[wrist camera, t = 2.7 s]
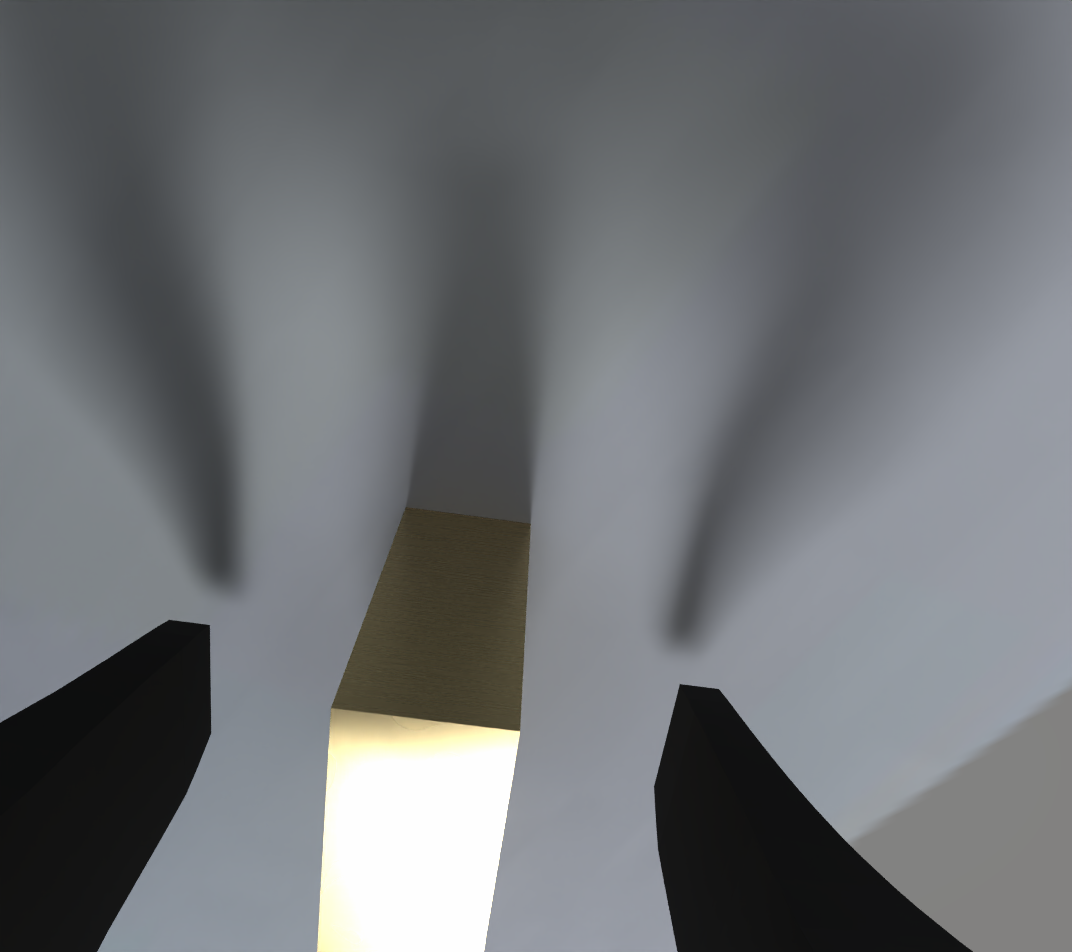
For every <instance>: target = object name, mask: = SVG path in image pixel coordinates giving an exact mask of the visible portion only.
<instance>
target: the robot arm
mask: <svg viewBox="0 0 1072 952" xmlns="http://www.w3.org/2000/svg"><path fill="white" fill-rule="evenodd" d="M210 735H211V685H210V625H205V624H197V623H189V622H181V621H173V620H168V621H167V622H165V623H163V624H162V625H160V626H158V627H157V628H155V629H153V630H152V631H150V632H149V633H147V634H145V635H144V636H142V637H141V638H139V639H138V640H136V641H134V642H133V643H131V644H130V645H128V646H127V647H125V648H124V649H122V650H121V651H119V652H117V653H116V654H114V655H113V656H111V657H110V658H108V659H107V660H105V661H103V662H102V663H100V664H99V665H97V666H95V667H94V668H92V669H91V670H89V671H87V672H86V673H84V674H83V675H81V676H79V677H78V678H76V679H75V680H73V681H71V682H70V683H68V684H67V685H65V686H63V687H62V688H60V689H59V690H57V691H55V692H54V693H52V694H50V695H48V696H46V697H45V698H43V699H41V700H39V701H38V702H36V703H34V704H32V705H31V706H29V707H27V708H25V709H24V710H22V711H20V712H18V713H17V714H15V715H13V716H11V717H9V718H8V719H6V720H4V721H2V722H1V723H0V952H97V951H98V949H99V947H100V945H101V943H102V942H103V940H104V938H105V936H106V934H107V932H108V930H109V928H110V927H111V925H112V923H113V921H114V920H115V918H116V916H117V914H118V913H119V911H120V909H121V908H122V906H123V904H124V902H125V901H126V899H127V897H128V895H129V894H130V892H131V890H132V888H133V887H134V885H135V883H136V881H137V880H138V878H139V876H140V874H141V873H142V871H143V869H144V868H145V866H146V864H147V862H148V861H149V859H150V857H151V855H152V854H153V852H154V850H155V848H156V847H157V845H158V843H159V841H160V840H161V838H162V836H163V834H164V833H165V831H166V829H167V827H168V826H169V824H170V822H171V820H172V819H173V817H174V815H175V813H176V811H177V810H178V808H179V806H180V804H181V802H182V801H183V799H184V797H185V795H186V793H187V791H188V788H189V786H190V784H191V781H192V779H193V777H194V774H195V772H196V770H197V767H198V765H199V762H200V760H201V757H202V755H203V752H204V750H205V747H206V745H207V742H208V740H209V737H210ZM654 793H655V811H656V827H657V840H658V851H659V857H660V862H661V868H662V873H663V878H664V884H665V889H666V894H667V900H668V905H669V910H670V915H671V920H672V926H673V931H674V936H675V941H676V946H677V951H678V952H973V951H971V950H970V949H969V948H967V947H966V946H965V945H963V944H962V943H961V942H959V941H958V940H957V939H956V938H954V937H953V936H952V935H951V934H949V933H948V932H947V931H946V930H945V929H943V928H942V927H941V926H940V925H938V924H937V923H936V922H935V921H933V920H932V919H931V918H930V917H929V916H927V915H926V914H925V913H924V912H922V911H921V910H920V909H919V908H917V907H916V906H915V905H914V904H913V903H912V902H910V901H909V900H908V899H907V898H906V897H905V896H903V895H902V894H901V893H900V892H899V891H898V890H897V889H896V888H894V887H893V886H892V885H891V884H890V883H889V882H888V881H887V880H886V879H885V878H883V876H882V875H880V874H879V873H878V872H877V871H876V870H875V869H874V868H873V867H872V866H871V865H870V864H869V863H868V862H867V861H866V860H864V859H863V858H862V857H861V856H860V855H859V854H858V853H857V852H856V851H855V850H854V849H853V848H852V847H851V846H850V845H849V844H848V843H847V842H846V841H845V840H844V839H843V838H842V837H841V836H840V835H839V834H838V833H837V831H836V830H835V829H834V828H833V827H832V826H831V825H830V824H829V823H828V822H827V821H826V820H825V819H824V817H823V816H822V815H821V814H820V813H819V812H818V811H817V810H816V809H815V808H814V807H813V806H812V804H811V803H810V802H809V801H808V800H807V799H806V798H805V796H804V795H803V794H802V793H801V792H800V791H799V790H798V788H797V787H796V786H795V785H794V784H793V782H792V781H791V780H790V779H789V778H788V777H787V775H786V774H785V773H784V772H783V770H782V769H781V768H780V767H779V766H778V764H777V763H776V762H775V761H774V759H773V758H772V757H771V756H770V754H769V753H768V752H767V751H766V749H765V748H764V747H763V746H762V744H761V743H760V742H759V740H758V739H757V738H756V737H755V735H754V734H753V733H752V731H751V730H750V729H749V727H748V726H747V725H746V724H745V722H744V721H743V720H742V718H741V717H740V716H739V714H738V713H737V712H736V710H735V709H734V708H733V706H732V705H731V704H730V703H729V701H728V700H727V699H726V697H725V696H724V695H723V694H722V692H721V691H720V690H719V689H714V688H706V687H698V686H690V685H682V684H680V686H679V690H678V694H677V698H676V702H675V706H674V710H673V714H672V718H671V722H670V726H669V730H668V734H667V738H666V742H665V746H664V750H663V754H662V758H661V762H660V766H659V770H658V774H657V777H656V781H655V785H654Z"/></svg>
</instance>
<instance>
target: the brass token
mask: <svg viewBox="0 0 1072 952" xmlns="http://www.w3.org/2000/svg"><path fill="white" fill-rule="evenodd" d="M530 526H531V524H528V523H521V522H513V521H505V520H498V519H490V518H483V517H475V516H468V515H460V514H453V513H445V512H438V511H430V510H423V509H415V508H408V507H406V508H405V511H404V514H403V516H402V519H401V522H400V524H399V527H398V530H397V532H396V535H395V538H394V541H393V543H392V546H391V549H390V551H389V554H388V557H387V559H386V562H385V565H384V567H383V570H382V573H381V575H380V578H379V581H378V583H377V586H376V589H375V592H374V594H373V597H372V600H371V602H370V605H369V608H368V610H367V613H366V616H365V618H364V621H363V624H362V626H361V629H360V632H359V634H358V637H357V640H356V642H355V645H354V648H353V651H352V653H351V656H350V659H349V661H348V664H347V667H346V669H345V672H344V675H343V677H342V680H341V683H340V685H339V688H338V691H337V693H336V696H335V699H334V702H333V704H332V707H331V718H330V736H329V754H328V771H327V789H326V807H325V825H324V843H323V860H322V878H321V896H320V914H319V932H318V949H317V952H483V951H484V945H485V939H486V933H487V927H488V921H489V915H490V909H491V903H492V897H493V891H494V885H495V879H496V873H497V867H498V861H499V855H500V849H501V843H502V837H503V831H504V825H505V819H506V813H507V807H508V801H509V794H510V788H511V782H512V776H513V770H514V764H515V758H516V752H517V746H518V740H519V734H520V721H521V701H522V682H523V662H524V643H525V623H526V604H527V584H528V565H529V545H530Z"/></svg>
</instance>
